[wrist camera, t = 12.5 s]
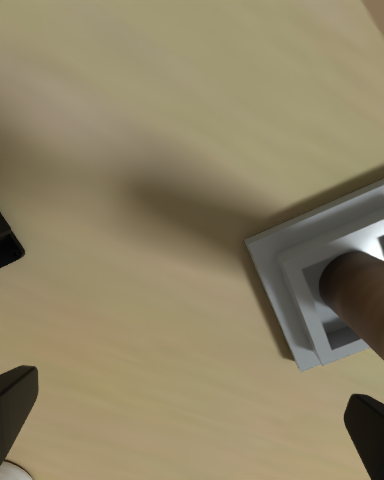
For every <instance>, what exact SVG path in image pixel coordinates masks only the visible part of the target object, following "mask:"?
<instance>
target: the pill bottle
mask: <svg viewBox="0 0 384 480" xmlns="http://www.w3.org/2000/svg"><path fill="white" fill-rule="evenodd" d="M0 480H33V479H32V478H31V477H30V475H29V474H28V473H27V472H25V471H24V470H23V469H21V468H19V467H18V466H16V465H14V464H11V463H8V462H5V461H3V463H2V464H1V466H0Z"/></svg>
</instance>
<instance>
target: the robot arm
mask: <svg viewBox="0 0 384 480" xmlns="http://www.w3.org/2000/svg"><path fill="white" fill-rule="evenodd" d="M14 250H16V251H17V252H18V255H17V254H15V252H14ZM24 255H25V250H24V248H23V247H22V245H21V244H20V242H19V241H18V239H17V238H16V236H15V235H14V233H13V232H12V230H11V228H10V226H9V225H8V223H7V222H6V220H5V219H4V217H3V216H2V214H1V213H0V268H2V267H4V266H6V265H8V264H10V263H12V262H14V261H16V260H18V259H20V258H22V257H23V256H24ZM37 396H38V369H37V368H36V367H35V366H26V365H22V366H19V367H16V368H14V369H12V370H10V371H7V372H5V373H3V374H1V375H0V466H1V464H2V463H3V461H4V459H5V458H6V456H7V454H8V453H9V451H10V449H11V447H12V445H13V443H14V441H15V440H16V438H17V436H18V434H19V432H20V430H21V428H22V426H23V424H24V422H25V420H26V419H27V417H28V415H29V413H30V411H31V409H32V407H33V405H34V403H35V401H36V399H37ZM344 423H345V426H346V429H347V431H348V433H349V435H350V437H351V439H352V441H353V443H354V445H355V447H356V449H357V451H358V454H359V456H360V458H361V460H362V462H363V464H364V466H365V468H366V470H367V472H368V474H369V476H370V478H371V480H384V404H383V403H381V402H379V401H377V400H375V399H374V398H372V397H370V396H368V395H365V394H352V395H351V397H350V399H349V402H348V404H347V407H346V410H345V413H344Z"/></svg>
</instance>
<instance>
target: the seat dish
mask: <svg viewBox="0 0 384 480" xmlns="http://www.w3.org/2000/svg"><path fill="white" fill-rule="evenodd" d="M244 242H245V244H246V247H247V249H248V251H249V254H250V256H251V259H252V261H253V263H254V266H255V268H256V270H257V273H258V275H259V278H260V280H261V282H262V285H263V287H264V289H265V292H266V294H267V297H268V299H269V301H270V304H271V306H272V308H273V311H274V313H275V315H276V318H277V320H278V323H279V325H280V327H281V330H282V332H283V334H284V337H285V339H286V342H287V344H288V346H289V349H290V351H291V353H292V356H293V358H294V361H295V363H296V364H297V366H298V368H299V370H300V372H302V371H305V370H307V369H310V368H313V367H315V366H318V365H320V364H322V366H323V365H326V364H328V363H331V362H334V361H336V360H339V359H342V358H344V357H347V356H349V355H352V354H355V353H357V352H360V351H362V350H365V349H368V348H370V346H369V345H368V344H367V343H365V342H364V341H363V340H362V339H361V338H360V337H359V336H358V335H357V334H356V333H355V332H354V331H353V330H352V329H351V328H350V327H349V326H348V325H347V324H346V323H345V322H344V321H343V320H342V319H341V318H340V317H339V316H338V315H337V314H336V313H335V312H333V311H332V310H331V309H330V308H329V307H328V306H327V305H326V304H325V303H324V301H323V300H322V298H321V296H320V293H319V280H320V277H321V274H322V272H323V270H324V269H325V267H326V266H327V265H328V264H329V263H330V262H331V261H332V260H333V259H335V258H336V257H338V256H340V255H342V254H345V253H348V252H356V251H358V252H365V253H368V254H370V255H372V256H374V257H376V258H379V259H381V260H383V261H384V178H383V179H381V180H379V181H377V182H374V183H372V184H370V185H367V186H365V187H363V188H361V189H358V190H356V191H354V192H352V193H349V194H347V195H345V196H343V197H340V198H338V199H336V200H333V201H331V202H329V203H327V204H324V205H322V206H320V207H318V208H315V209H313V210H311V211H308V212H306V213H304V214H302V215H299V216H297V217H295V218H293V219H290V220H288V221H286V222H283V223H281V224H279V225H277V226H274V227H272V228H270V229H268V230H265V231H263V232H261V233H259V234H256V235H254V236H252V237H249V238H247V239H245V240H244Z"/></svg>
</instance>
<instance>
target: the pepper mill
mask: <svg viewBox="0 0 384 480" xmlns="http://www.w3.org/2000/svg"><path fill="white" fill-rule="evenodd" d="M319 293H320V296H321V298H322V300H323V301H324V303H325V304H326V305H327V306H328V307H329V308H330V309H331V310H332V311H333V312H335V313H336V314H337V315H338V316H339V317H340V318H341V319H342V320H343V321H344V322H345V323H346V324H347V325H348V326H349V327H350V328H351V329H352V330H353V331H354V332H355V333H356V334H357V335H358V336H359V337H360V338H361V339H362V340H363V341H364V342H365V343H367V344H368V345H369V346H370V347H371V348H372V349H373V350H374V351H375V352H376V353H377V354H378V355H379V356H380V357H381V358H382V359H383V360H384V261H383V260H381V259H379V258H376V257H374V256H372V255H370V254H368V253H365V252H358V251H356V252H348V253H345V254H342V255H340V256H338V257H336V258H335V259H333V260H332V261H331V262H330V263H329V264H328V265H327V266H326V267H325V269H324V270H323V272H322V274H321V277H320V280H319Z"/></svg>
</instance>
